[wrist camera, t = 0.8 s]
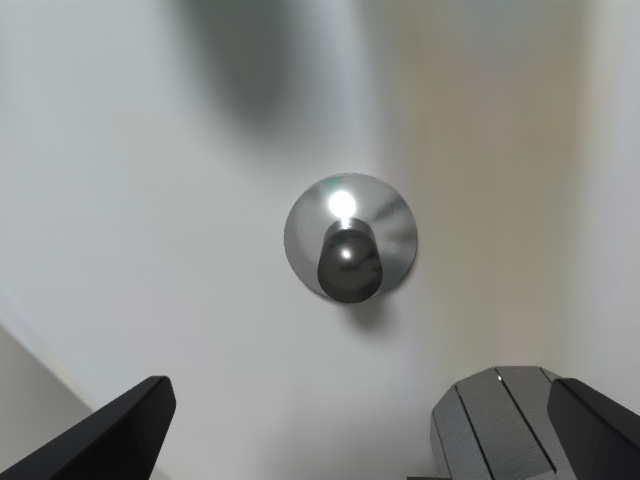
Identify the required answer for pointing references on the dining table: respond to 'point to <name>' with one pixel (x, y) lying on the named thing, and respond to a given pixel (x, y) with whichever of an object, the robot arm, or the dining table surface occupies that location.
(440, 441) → the pot
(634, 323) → the dining table surface
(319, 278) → the lid
